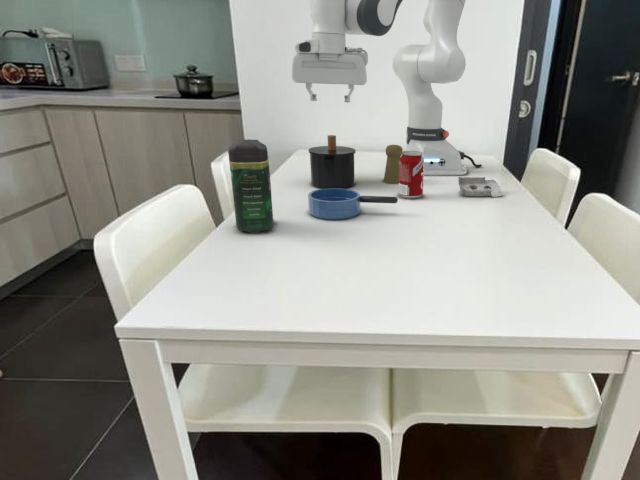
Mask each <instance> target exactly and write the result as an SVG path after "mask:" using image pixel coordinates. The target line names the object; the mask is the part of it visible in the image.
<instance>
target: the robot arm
mask: <svg viewBox="0 0 640 480" xmlns="http://www.w3.org/2000/svg"><path fill="white" fill-rule="evenodd" d="M403 1H404V0H310V16H311V17H310V18H311V20H312V28H311V38H310V39H306V40H304V41H300V42H298V43H295V44H294V50H295V55H293V57H292V62H291V63H292V64H291V79H292V81H293V82H294V84H295V83H296V84H305V89H306V90H307V92H308V95H309V96H310V97H309V98H310V102H317V101H318V100H317V99H318V98H317V94H316V93H314V92H313V90H312V88H313V84H317V85H318V84H319V85H320V84H321V85H348V90H349V91H348V93H347V94H345V95H344V103H349V104H350V103H351V96H352V94H353V92H354V91H355V86H364V85H366V84H367V82H368V76H367V73H368V72H367V67H366V66H367V65H368V64H369V54H368V52H367V51H366V50H365V49H363V47H352V46H351V47H349V46H347V45H346V35H350V36H353V35H354V36H355V35H356V36H373V37H383V36H385V35H387V34H388V33H389V32H390V30H391V28H392V27H393V25H394V22H395V20H396V16H397V13H398V10H399V9H400V6H401V4H402V2H403ZM465 4H466V0H428V2H427V5H426V9H425V12H424V16H423V21H422V22H423V25H424V29H425V31H426V32H427V33H428V34H429V35H430V41H429V43H428V44H409V45H405V46H402V47H399V48H398V49H396V51H395V53H394V55H393V58H392V69H393V72H394V74H395V76H396V77H397V78H398V79H399V80H400V82H401V83H402V85H403V88H404V91H405V93H406V97H407V104H408V122H407V123H408V126H407V127H406V133H405V143H406V150H405V151H419V152H422V156H423V158H424V176H464V175H466V174H467V173H468V168H467V167H466V166H465V165H463V164H462V161H463V160H465V159H467V160H469V161H470V162H471V165H473V167H475V168H482V167H483V165H482V163H480V164H476V163H475V161H474V159H473V158H472V157H471V156H469V155H467V154H465V152H464V151H461V150H458V149H457V148H456V147H454V145H452V144H451V143H450V142H449V141H448V140H447V138H448V137H449V136H450V132H449V131H448V130H446V129H445V128H443V127H442V120H443V103H442V101H441V99H440V98H439V97H438V96H436V95H435V93H434V91H433V88H432V84H440V85H441V84H444V85H445V84H449V83H450V84H451V83H455V82H458V81H459V80H460V79H461V78H462V76H463V75H464V73H465V70H466V65H467V64H466V57H465V53H464V52H463V50H462V49H461V48H460V46H459V44H458V29H459V25H460V21H461V18H462V14H463V11H464V7H465Z"/></svg>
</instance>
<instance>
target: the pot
mask: <svg viewBox="0 0 640 480" xmlns="http://www.w3.org/2000/svg"><path fill="white" fill-rule="evenodd" d="M309 161H310V162H309V163H310V180H311V185H312V186H313V187H314V188H317V189H326V188H342V189H350V188H352V187H353V186H355V154H352V155H347V156H318V155H313V154H310V153H309Z"/></svg>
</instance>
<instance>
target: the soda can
mask: <svg viewBox="0 0 640 480" xmlns="http://www.w3.org/2000/svg"><path fill="white" fill-rule="evenodd" d="M424 176H425V175H424V158H423V156H422V152H419V151H406V150H403V151H402V155H401V157H400V159H399V183H398V193H397V194H398V195H399V196H400V197H402V198H403V199H411V200H412V199H413V200H414V199H419V198H420V197H422V196H423V194H424V193H423V192H424Z"/></svg>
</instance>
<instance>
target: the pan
mask: <svg viewBox="0 0 640 480" xmlns="http://www.w3.org/2000/svg"><path fill="white" fill-rule="evenodd" d="M360 196H361V194H360V192H359V191H357V190H353V189H350V188H345V189H342V188H326V189H321V188H318V189H315V190H312V191H310V192H309V193H308V194H307V200H308V202H307V203H308V212H309V214H310V215H312V216H313V217H315V218H318V219H322V220H332V221H337V220H345V219H346V220H347V219H352V218H354V217H356V216H357V215H358V214H361V202H360Z"/></svg>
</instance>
